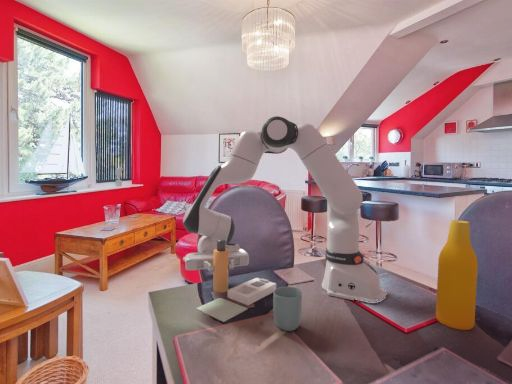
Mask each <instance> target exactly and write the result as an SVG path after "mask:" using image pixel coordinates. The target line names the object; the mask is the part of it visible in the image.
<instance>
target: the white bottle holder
mask: <svg viewBox="0 0 512 384" xmlns="http://www.w3.org/2000/svg"><path fill="white" fill-rule="evenodd" d="M276 288H277V283H276V282H274V281H273V282H272V281H269V279H266V278H263V277H262V278H260V277H255V278H253V279H250V280H247V281H245V282H243V283H241V284H238V285H236V286H233V287H231V288H228V291H227V298H228V299H230V300H233V301H235V302H238V303H241V304H243V305H245V306H250V305H252V304H253V303H255V302H257V301H259V300H261V299H263V298H265V297H267V296H269V295H271V294H272V293H274V290H275V289H276Z"/></svg>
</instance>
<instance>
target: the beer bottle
mask: <svg viewBox="0 0 512 384" xmlns="http://www.w3.org/2000/svg"><path fill="white" fill-rule="evenodd" d="M448 229H449V230H448V235H447V238H446V239H447V240H446V242H445V244H444V246H443V247H442V249H441V251H440V253H439V255H438V260H437V261H438V263H437V283H436V285H437V286H436V305H435V317H436V320H437V321H438V322H439V323H440V324H442V325H444V326H446V327H448V328H452V329H455V330H459V331H460V330H461V331H469V330H472V329H473V328H474V326H475V323H476V322H475V321H476V301H477V300H476V299H477V285H478V270H479V266H478V265H479V264H478V258H477V255H476V252H475V250H474V249H473V246H472V242H471V230H470V221H466V220H457V219H456V220H455V219H454V220H453V219H451V220H450V224H449V228H448Z"/></svg>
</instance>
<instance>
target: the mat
mask: <svg viewBox="0 0 512 384" xmlns="http://www.w3.org/2000/svg"><path fill="white" fill-rule="evenodd" d="M195 309H196V310H197V311H199V312H201V313H203V314H206V315H207V316H210V317H211V318H214V319H216V320H218V321H221V322H223V323H225V322H227V321H229V320H230V319H233V318H234V317H236V316H238V315H239V314H240V315H241V314H242V313H243V312H245V311H247V310H248V307H245V306H242V305H240V304H237V303H234V302H232V301H230V300H228V299H224V298H222V297H218V298H216V299H214V300H211V301H209V302H207V303H204V304H203V305H201V306H198V307H196V308H195Z"/></svg>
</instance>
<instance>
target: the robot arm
mask: <svg viewBox="0 0 512 384" xmlns="http://www.w3.org/2000/svg"><path fill="white" fill-rule="evenodd" d="M288 148H289V149H291V150H293V151H294V152H295V153H296V155H298V157H299V159H300V161H301V162H302V164H303V165H304V167H305V168H306V170H307V171H308V173H309V175H310V176H311V178H312V179H313V181H314V182H315V184H316V185H317V187H318V188H319V190H320V192H321V193H322V195H323V196H324V198H325V200H326V201H327V202H326V203H327V204H326V205H327V206H326V207H327V208H326V209H327V213H326V214H327V215H326V217H327V218H326V220H327V221H326V223H327V224H326V225H327V227H326V229H327V232H326V233H327V235H326V237H327V239H326V248H325V257H324V258H325V268H324V274H323V280H322V283H321V287H322V289H323V290H324V291H326V294H327V295H328V296H332V297H335V298H340V299H345V300H351V301H354V299H357V300H363V301H368V302H377V301H380V300H382V299H384V298H385V297H386V295H387V296H388V291H386V290H387V289H386V288H384V289H385V290H384V289H383V287H381V281H380V277H379V275H378V274H377V273H376V272H375V271H374V270H373V269H371V268H370V267H369V266H368V264H366V263H365V262H364V261H365V259H364V258H365V257H366V253H363V254H362V253H361V251H360V249H359V246H360V245H359V242H360V240H359V239H360V237H359V236H360V227H359V213H358V212H359V211H358V210H359V209H360V208H361V206H362V205H363V193H362V191H361V189H360V187H359V186H358V185H357V183H356V182H355V181H354V179H353V177H351V175H350V173H349V172H348V171H347V170H346V168H345V167H344V166H343V164H342V163H341V162H340V160H339V159H338V156H336V154H335V152H334V151H333V150H332V148H331V146H330V145H329V144H328V142H327V140H326V139H325V138H324V136H323V135H322V134H321V133H320V131H318V129H317V128H316V127H315V126H314V125H312V124H311V123H302V124H299V125H298V126H297V124H296V123H294V122H292V121H290V120H288V119H287V118H284V117H282V116H272V117H269V118H268V119H267V120H266V121H265V122H264V124H263V125H262V127H261V131H255V130H244V131H243V132H241V133H240V134H239V135H238V138H237V139H236V141H235V143H234V145H233V147H232V149H231V151H230V154H229V156H228V158H227V160H226V161H225V162H224V163H223V164H221V165H216V167H215V168H214V169H213V170H212V171H211V173H210V174H209V176H208V178H207V179H206V180H205V182H204V184H203V185H202V187H201V189H200V191H199V192H198V194H197V196H196V197H195V199H194V201H193V202H192V203H191V205H190V207H188V209H187V210H186V212H185V214H184V215H183V218H182V219H183V220H182V224H183V226H184V228H185V230H186V232H187V233H189V234H196V235H200V236H201V237H199V240H198V241H197V252H189V253H186V254H185V256H183V258H182V259H183V262H184V263H185V264H184V265H185V270H186V271H198V270H199V271H200V270H208V271H209V272H212V271H214V265H213V250H214V249H217V240H219V239H224V240H226V244H225V249H228V250H229V268H228V270H234V267H244V266H245V267H246V266H248V265H249V263H250V254H249V253H248V252H247V251H246V249H244V248H243V247H240V245H239V244H237V243H231V241H232V239H233V237H234V234H235V229H236V228H235V227H236V226H235V222H234V219H233V218H232V216H230V215H227V214H226V213H222V212H218V211H215V210H212V209H209V208H207V207H206V205H207V204H208V202H209V200H210V198H211V197H212V195H213V193H215V190H216V189H217V188H218V187H219V186H221V185H226V184H227V185H228V184H229V185H231V184H232V185H233V184H235V185H237V184H244V183H247V182H249V181H250V180H252V179H253V177H254V176H255V174H256V172H257V169H258V167H259V164H260V160H261V159H262V156H263V155H264V154H273V155H274V154H282V153H284V152H286V151H287V150H288ZM382 291H386V292H382ZM386 298H387V297H386ZM376 299H378V300H376Z"/></svg>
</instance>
